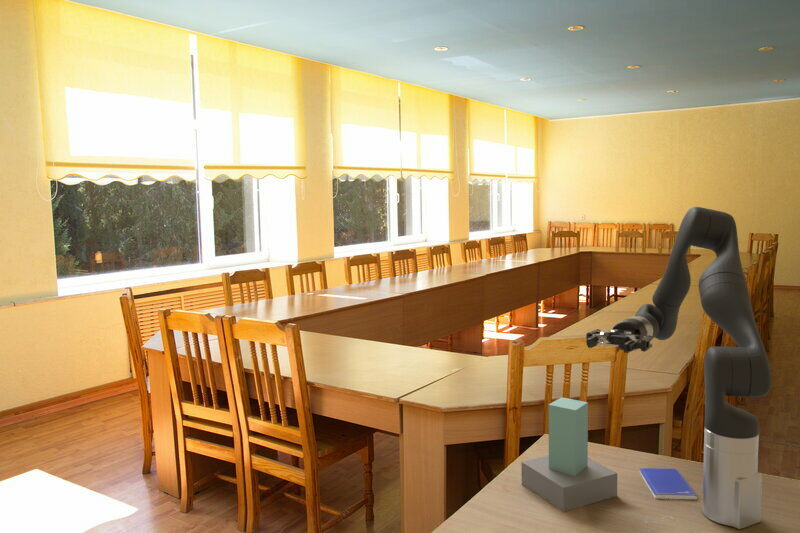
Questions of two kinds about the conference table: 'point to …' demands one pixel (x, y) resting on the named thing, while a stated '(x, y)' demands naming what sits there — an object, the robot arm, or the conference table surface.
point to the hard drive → (667, 483)
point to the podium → (569, 483)
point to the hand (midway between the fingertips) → (607, 346)
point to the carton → (568, 436)
